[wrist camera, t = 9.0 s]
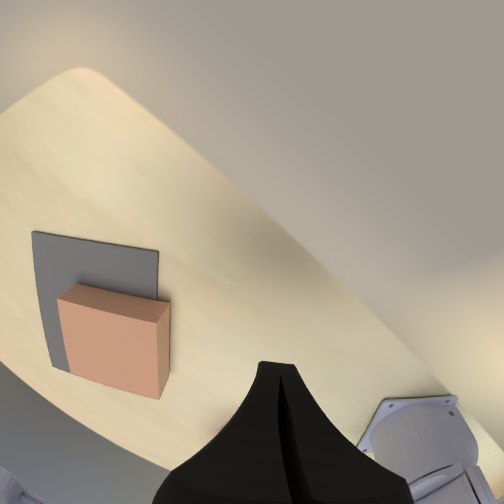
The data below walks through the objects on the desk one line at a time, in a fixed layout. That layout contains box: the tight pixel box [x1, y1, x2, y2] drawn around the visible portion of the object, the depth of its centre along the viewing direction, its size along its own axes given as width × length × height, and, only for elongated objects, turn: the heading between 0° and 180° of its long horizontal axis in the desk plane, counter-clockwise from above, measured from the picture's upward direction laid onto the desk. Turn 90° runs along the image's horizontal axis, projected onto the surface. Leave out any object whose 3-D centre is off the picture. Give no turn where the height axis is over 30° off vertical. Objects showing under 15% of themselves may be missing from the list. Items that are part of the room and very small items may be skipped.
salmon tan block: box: [57, 283, 170, 400], centre depth 21 cm, size 3×7×8 cm
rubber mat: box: [31, 231, 159, 386], centre depth 23 cm, size 12×14×1 cm
